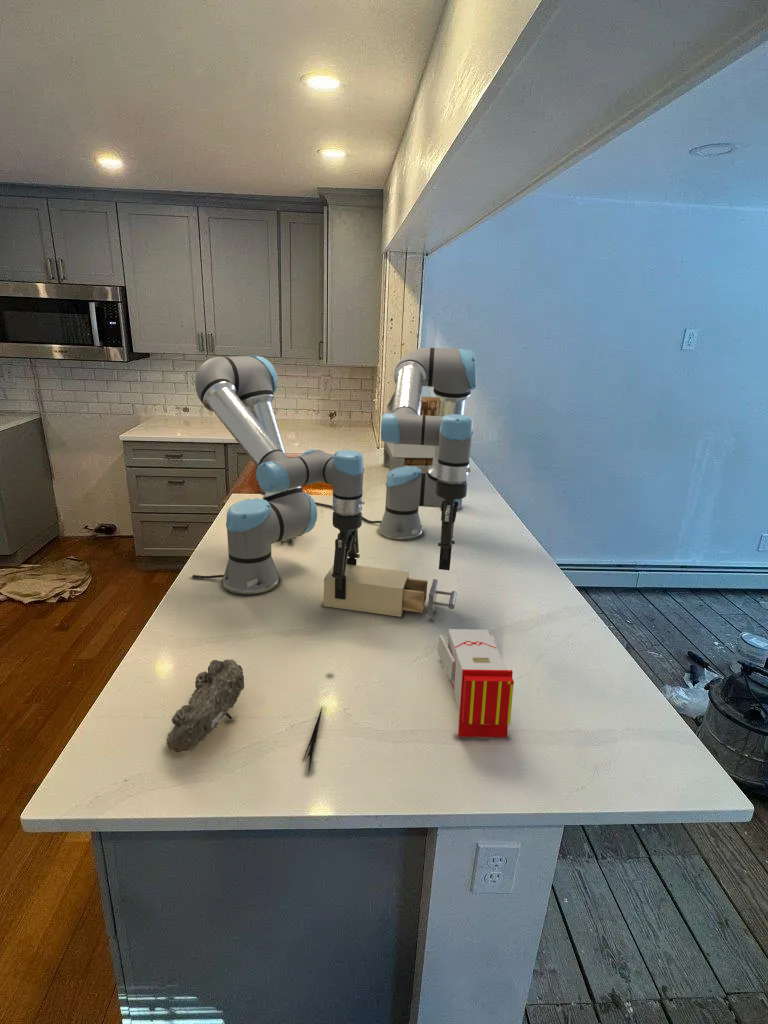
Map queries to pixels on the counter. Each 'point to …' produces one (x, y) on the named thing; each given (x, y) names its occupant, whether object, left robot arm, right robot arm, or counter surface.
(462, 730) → the toy
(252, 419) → the left robot arm
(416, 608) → the drawer
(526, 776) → the counter surface
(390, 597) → the cabinet
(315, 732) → the feather
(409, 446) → the transformer
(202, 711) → the fossil
